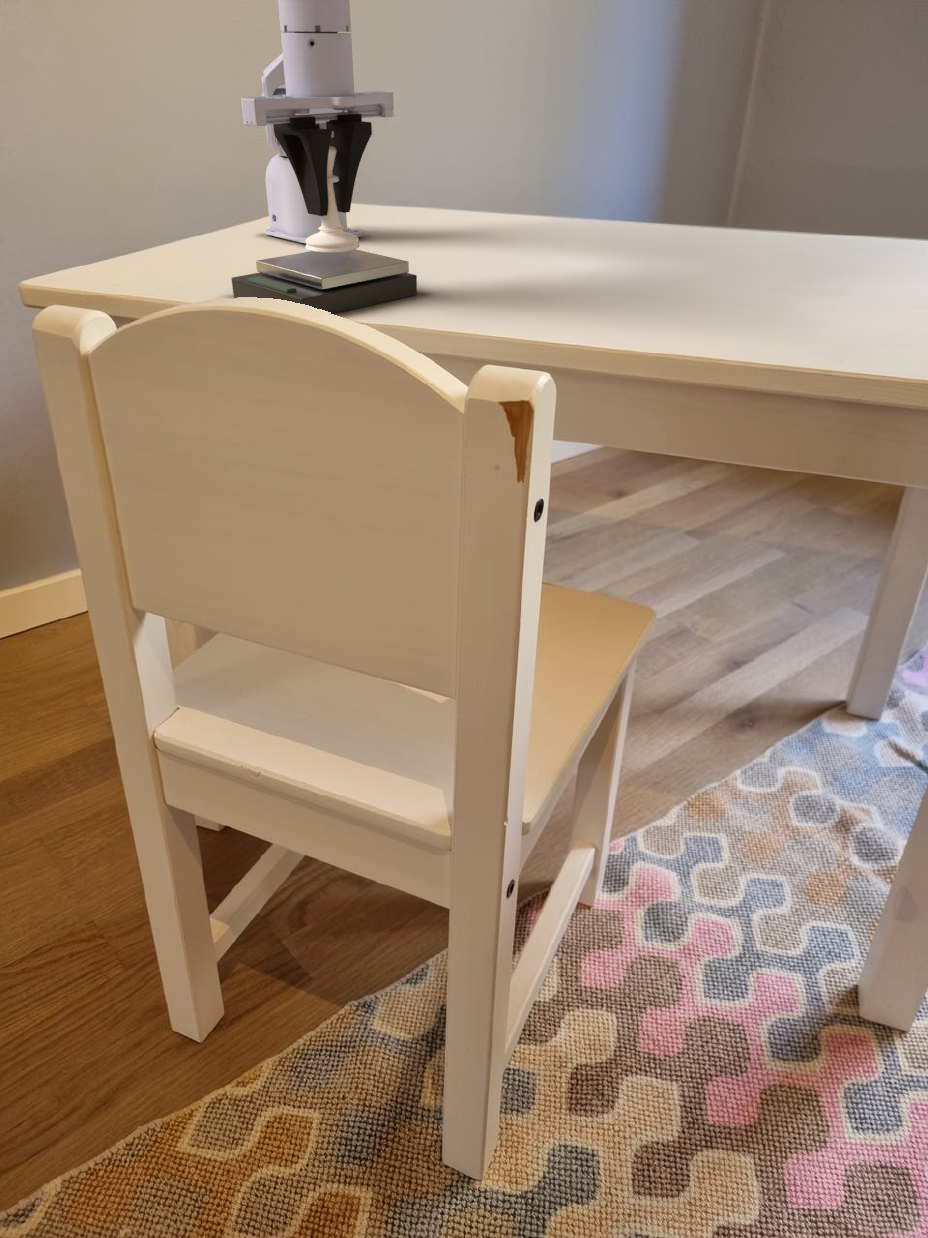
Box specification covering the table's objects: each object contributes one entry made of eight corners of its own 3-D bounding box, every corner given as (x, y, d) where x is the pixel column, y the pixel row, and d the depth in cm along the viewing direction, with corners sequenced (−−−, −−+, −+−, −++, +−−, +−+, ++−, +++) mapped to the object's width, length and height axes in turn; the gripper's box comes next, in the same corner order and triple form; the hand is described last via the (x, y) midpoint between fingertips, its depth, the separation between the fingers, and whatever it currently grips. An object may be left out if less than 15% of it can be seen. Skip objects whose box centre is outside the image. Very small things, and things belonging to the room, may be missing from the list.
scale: (233, 297, 85) (230, 273, 84) (344, 275, 93) (342, 253, 92) (304, 320, 79) (302, 294, 77) (417, 294, 86) (416, 271, 85)
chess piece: (350, 253, 82) (341, 126, 76) (297, 251, 83) (284, 125, 77) (366, 242, 86) (358, 120, 80) (316, 240, 87) (305, 119, 81)
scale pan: (256, 271, 85) (255, 260, 85) (342, 256, 91) (341, 245, 91) (322, 290, 79) (321, 278, 79) (409, 272, 85) (409, 261, 85)
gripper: (269, 32, 69) (288, 228, 76) (415, 33, 77) (418, 208, 84) (218, 32, 73) (240, 217, 80) (361, 32, 81) (369, 200, 89)
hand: (328, 212), depth 83 cm, fingers closed on chess piece
